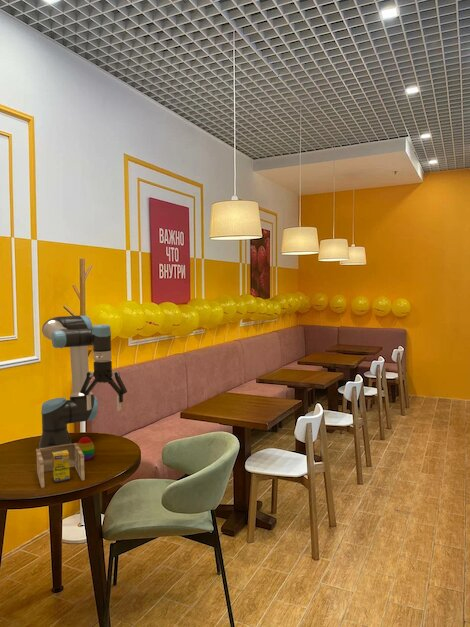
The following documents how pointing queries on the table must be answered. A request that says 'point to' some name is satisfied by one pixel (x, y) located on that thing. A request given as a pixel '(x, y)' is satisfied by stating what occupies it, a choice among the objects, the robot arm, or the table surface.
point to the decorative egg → (86, 447)
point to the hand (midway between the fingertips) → (104, 409)
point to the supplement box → (61, 466)
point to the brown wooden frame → (47, 465)
